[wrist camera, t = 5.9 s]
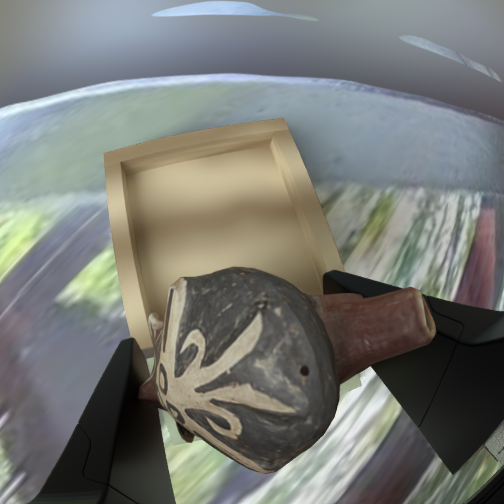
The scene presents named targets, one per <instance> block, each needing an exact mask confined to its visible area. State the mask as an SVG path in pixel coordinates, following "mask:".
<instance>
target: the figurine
mask: <svg viewBox="0 0 504 504" xmlns="http://www.w3.org/2000/svg"><path fill="white" fill-rule="evenodd" d="M148 325H149V329H150V333H151V337H152V340H153V348H154V365H153V369H152V373H151V375H150V377H149V378H148V379H147V380H146V381H145V382H144V383H143V384H142V385H141V386H140V387H139V392H138V399H139V400H140V401H141V402H142V403H143V404H147V405H151V406H154V407H157V408H160V409H162V410H164V411H167V412H168V413H169V414H170V416H171V417H172V418H173V419H174V420H175V422H176V426H177V429H178V432H179V434H180V436H181V438H182V439H183V440H184V441H186V442H189V443H192V442H193V439H194V437H195V436H197V437H199V438H201V439H202V440H204V441H205V442H206V443H208V444H209V445H210V446H212V447H213V448H215V449H216V450H218V451H219V452H221V453H223V454H224V455H226V456H227V457H229V458H230V459H232V460H234V461H236V462H237V463H239V464H241V465H243V466H244V467H246V468H248V469H250V470H253V471H257V472H260V473H263V474H268V473H273V472H276V471H278V470H279V469H281V468H282V467H283V466H285V465H286V464H288V463H289V462H290V461H292V460H293V459H294V458H296V457H297V456H298V455H300V454H301V453H303V452H304V451H306V450H308V449H309V448H310V447H311V446H313V445H314V444H315V443H316V442H317V441H318V440H319V439H320V438H321V437H322V436H323V435H324V434H325V432H326V431H327V429H328V427H329V425H330V424H331V422H332V420H333V419H334V417H335V414H336V410H337V406H338V403H339V397H340V385H341V384H343V383H344V382H346V381H347V380H349V379H350V378H352V377H354V376H355V375H357V374H358V373H360V372H362V371H363V370H365V369H367V368H368V367H370V366H371V365H372V364H374V363H376V362H379V361H382V360H385V359H388V358H391V357H394V356H397V355H400V354H403V353H406V352H408V351H411V350H414V349H417V348H420V347H422V346H425V345H428V344H429V343H430V342H431V341H432V339H433V338H434V336H435V334H436V328H435V322H434V320H433V317H432V315H431V312H430V310H429V308H428V305H427V303H426V301H425V299H424V297H423V296H422V294H421V292H420V290H418V289H415V288H412V287H408V288H404V289H401V290H397V291H394V292H390V293H386V294H383V295H379V296H375V297H368V298H363V297H362V295H360V294H354V293H340V294H329V295H310V294H306V293H304V292H303V291H302V290H301V289H300V288H298V287H297V286H295V285H293V284H292V283H290V282H288V281H286V280H285V279H283V278H281V277H280V276H278V275H276V274H273V273H270V272H267V271H264V270H261V269H258V268H254V267H235V266H233V267H230V268H226V269H222V270H219V271H215V272H213V273H210V274H206V275H201V276H197V277H180V278H179V279H178V280H177V281H175V282H174V283H173V284H172V285H170V287H169V294H168V300H167V308H166V313H165V319H163V318H162V317H161V316H160V315H159V314H158V313H157V312H152V313H151V314H150V315H149V318H148Z"/></svg>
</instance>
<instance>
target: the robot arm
mask: <svg viewBox="0 0 504 504" xmlns="http://www.w3.org/2000/svg"><path fill="white" fill-rule="evenodd" d="M401 289H403V288H399V287H396V286H392V285H389V284H385V283H382V282H378V281H374V280H371V279H367V278H364V277H360V276H357V275H353V274H349V273H346V272H342V271H339V270H331V271H328V272H326V273H324V274H323V295H329V294H340V293H354V294H360V295H362V297H363V298H368V297H375V296H379V295H383V294H386V293H390V292H394V291H397V290H401ZM422 296H423V297H424V299H425V301H426V303H427V305H428V308H429V310H430V312H431V315H432V317H433V320H434V322H435V328H436V334H435V336H434V338H433V339H432V341H431V342H430V343H429V344H428V345H425V346H422V347H420V348H417V349H414V350H411V351H408V352H406V353H403V354H400V355H397V356H394V357H391V358H388V359H385V360H382V361H379V362H376V363H374V364H372V365H371V367H372V369H373V370H374V371H375V372H376V374H377V375H378V376H379V378H380V379H381V380H382V381H383V383H384V384H385V385H386V387H387V388H388V389H389V391H390V392H391V393H392V394H393V396H394V397H395V398H396V400H397V401H398V402H399V404H400V405H401V406H402V408H403V409H404V410H405V412H406V413H407V414H408V415H409V417H410V418H411V419H412V421H413V422H414V423H415V425H416V426H417V427H418V428H419V430H420V432H421V433H422V434H423V436H424V437H425V438H426V440H427V441H428V442H429V444H430V445H431V446H432V448H433V449H434V450H435V452H436V453H437V454H438V456H439V457H440V459H441V460H442V461H443V463H444V464H445V465H446V467H447V468H448V469H449V471H450V472H451V473H452V474H453V475H454V474H455V473H456V472H457V471H459V470H460V469H461V468H462V467H463V466H464V465H466V464H467V463H468V462H469V461H470V460H471V459H472V458H473V457H474V456H476V455H477V454H478V453H479V452H480V451H481V450H482V449H483V448H484V447H485V448H486V449H487V450H488V451H489V453H490V454H491V455H492V456H493V457H494V458H495V459H496V460H497V462H498V461H499V462H500V464H501V465H502V467H501V468H500V469H499V470H498V471H497V472H496V473H495V474H494V475H493V476H492V477H491V478H490V479H489V480H488V481H487V482H486V483H485V484H484V485H483V486H482V487H481V488H480V489H479V490H478V491H477V492H475V493H474V494H473V495H472V496H471V497H470V498H469V499H468V500H466V501H465V502H464V503H463V504H504V311H494V310H489V309H484V308H479V307H474V306H469V305H464V304H459V303H455V302H450V301H446V300H443V299H439V298H435V297H432V296H426V295H424V294H422ZM149 377H150V373H149V369H148V365H147V361H146V358H145V356H144V354H143V352H142V350H141V348H140V346H139V344H138V343H137V341H136V339H135V338H134V337H131V338H127V339H124V340H122V341H121V342H120V344H119V345H118V347H117V349H116V351H115V353H114V354H113V356H112V358H111V360H110V362H109V364H108V365H107V367H106V369H105V371H104V373H103V375H102V377H101V379H100V380H99V382H98V384H97V386H96V388H95V390H94V392H93V394H92V396H91V398H90V400H89V402H88V404H87V406H86V407H85V409H84V411H83V413H82V415H81V417H80V419H79V422H78V423H79V424H77V425H76V427H75V429H74V432H73V434H72V436H71V438H70V439H69V441H68V443H67V445H66V447H65V449H64V451H63V453H62V454H61V456H60V458H59V460H58V461H57V463H56V465H55V466H54V468H53V470H52V471H51V473H50V475H49V477H48V478H47V480H46V482H45V483H44V485H43V487H42V489H41V490H40V492H39V493H38V495H37V496H36V497H35V498H34V499H33V500H32V501H31V502H29V503H28V504H176V502H175V497H174V493H173V489H172V484H171V479H170V474H169V470H168V465H167V459H166V454H165V449H164V443H163V437H162V431H161V425H160V418H159V411H158V408H157V407H154V406H151V405H147V404H143V403H142V402H141V401H140V400H139V399H138V392H139V387H140V386H141V385H142V384H143V383H144V382H145V381H146V380H147V379H148V378H149Z"/></svg>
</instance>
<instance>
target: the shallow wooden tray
mask: <svg viewBox="0 0 504 504" xmlns="http://www.w3.org/2000/svg"><path fill="white" fill-rule="evenodd" d="M104 165H105V178H106V190H107V200H108V209H109V218H110V226H111V233H112V241H113V247H114V254H115V260H116V266H117V272H118V278H119V283H120V288H121V294H122V299H123V303H124V308H125V313H126V317H127V322H128V326H129V331H130V335H131V337H134V338H135V339H136V341H137V343H138V344H139V346H140V348H141V350H142V352H143V354H144V356H145V358H146V360H147V363H148V367H149V370H150V374H151V373H152V369H153V365H154V348H153V340H152V337H151V333H150V329H149V325H148V318H149V315H150V314H151V313H152V312H157V313H158V314H159V315H160V316H161V317H162V318H163V319H165V313H166V308H167V300H168V294H169V287H170V285H172V284H173V283H174V282H175V281H177V280H178V279H179V278H180V277H197V276H201V275H206V274H210V273H213V272H215V271H219V270H222V269H226V268H230V267H233V266H235V267H254V268H258V269H261V270H264V271H267V272H270V273H273V274H276V275H278V276H280V277H281V278H283V279H285V280H286V281H288V282H290V283H292V284H293V285H295V286H297V287H298V288H300V289H301V290H302V291H303V292H304V293H306V294H310V295H323V274H324V273H326V272H328V271H331V270H339V271H342V272H345V270H344V267H343V265H342V262H341V259H340V256H339V253H338V250H337V248H336V245H335V242H334V239H333V237H332V234H331V231H330V228H329V226H328V223H327V220H326V218H325V215H324V213H323V210H322V207H321V205H320V202H319V200H318V197H317V195H316V192H315V190H314V187H313V185H312V182H311V180H310V177H309V175H308V172H307V170H306V168H305V165H304V163H303V160H302V158H301V156H300V153H299V151H298V149H297V146H296V144H295V142H294V140H293V137H292V135H291V133H290V131H289V128H288V126H287V124H286V122H285V119H284V118H279V119H271V120H263V121H255V122H248V123H241V124H234V125H228V126H222V127H216V128H210V129H205V130H199V131H194V132H189V133H184V134H179V135H175V136H170V137H165V138H161V139H157V140H152V141H148V142H144V143H140V144H136V145H132V146H128V147H124V148H120V149H117V150H113V151H110V152H106V153H104ZM360 386H362V384H361V381H360V377H359V373H358V374H357V375H355V376H354V377H352V378H350V379H349V380H347V381H346V382H344V383H343V384H341V385H340V395H341V394H343V393H346V392H348V391H350V390H353V389H355V388H357V387H360ZM161 410H162V409H161ZM162 413H163V416H164V419H165V422H166V425H167V428H168V431H169V433H170V436H171V439H172V442H173V444H174V445H178V444H183V443H188V442H186V441H184V440H183V439H182V438H181V436H180V434H179V432H178V429H177V426H176V422H175V420H174V419H173V418H172V417H171V416H170V414H169V413H168V412H167V411H164V410H162ZM197 440H201V438H199V437H197V436H195V437H194V439H193V441H197Z"/></svg>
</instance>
